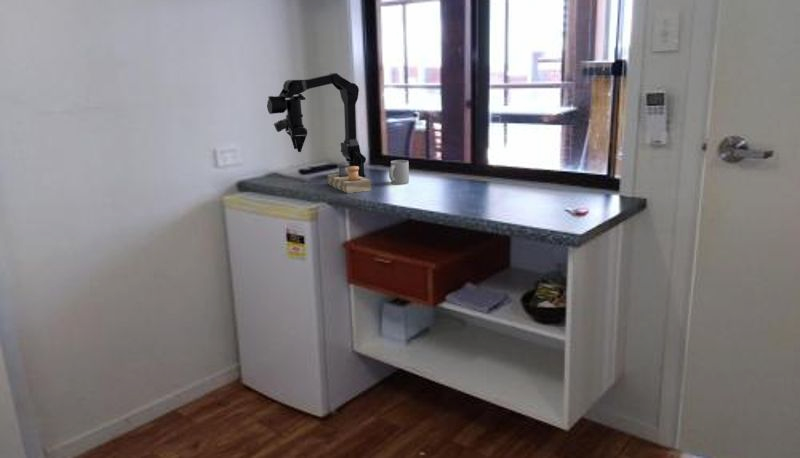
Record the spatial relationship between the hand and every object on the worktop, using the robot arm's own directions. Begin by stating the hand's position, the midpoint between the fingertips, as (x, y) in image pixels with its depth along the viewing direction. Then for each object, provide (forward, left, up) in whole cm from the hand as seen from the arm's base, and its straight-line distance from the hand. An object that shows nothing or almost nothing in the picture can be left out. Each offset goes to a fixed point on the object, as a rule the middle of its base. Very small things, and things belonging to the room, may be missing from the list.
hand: (297, 150), depth 254 cm
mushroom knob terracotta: (-14, +23, -11) cm, 29 cm away
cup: (-34, +22, -14) cm, 43 cm away
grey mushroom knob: (-14, +13, -11) cm, 22 cm away
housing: (-14, +18, -14) cm, 27 cm away
